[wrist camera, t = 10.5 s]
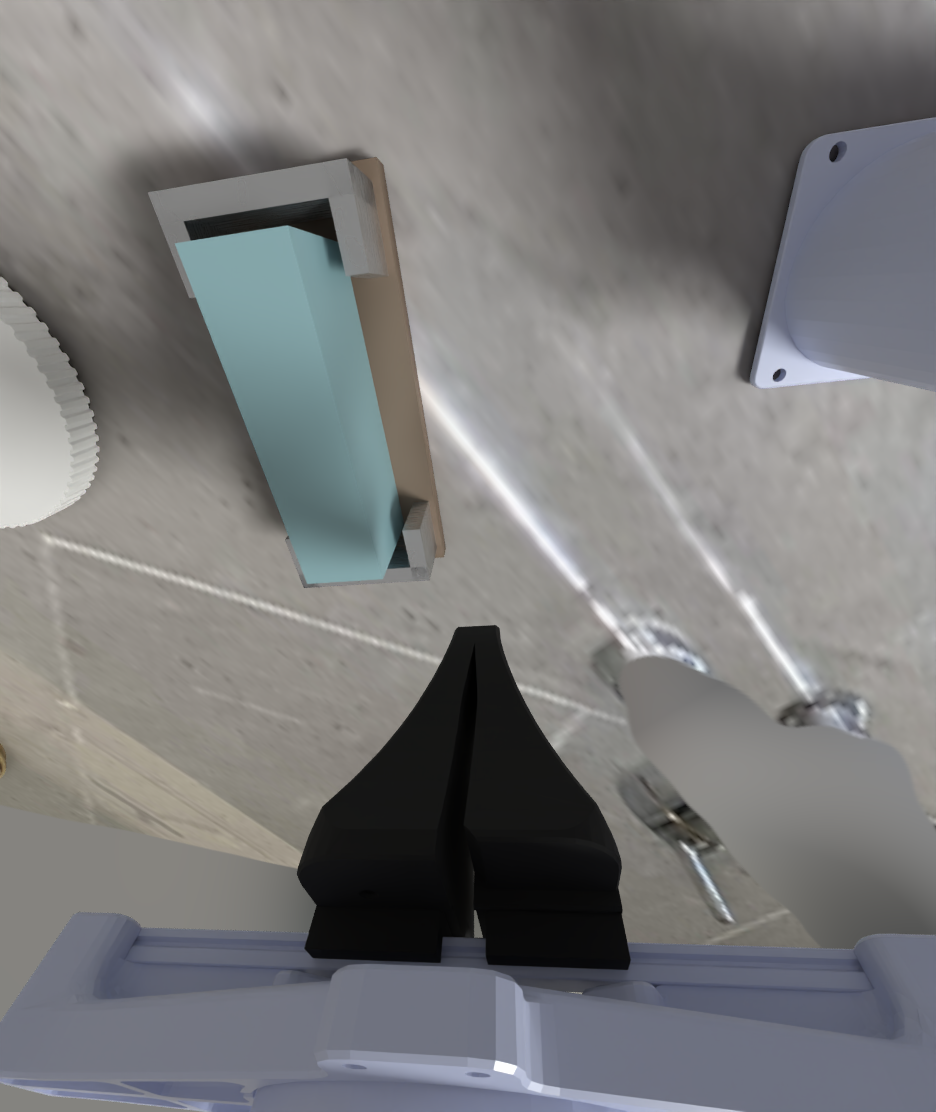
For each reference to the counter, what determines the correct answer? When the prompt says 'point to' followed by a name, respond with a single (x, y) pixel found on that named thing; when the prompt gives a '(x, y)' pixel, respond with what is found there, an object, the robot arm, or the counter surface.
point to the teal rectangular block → (303, 392)
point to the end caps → (363, 256)
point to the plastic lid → (39, 420)
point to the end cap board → (392, 360)
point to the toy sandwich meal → (2, 761)
